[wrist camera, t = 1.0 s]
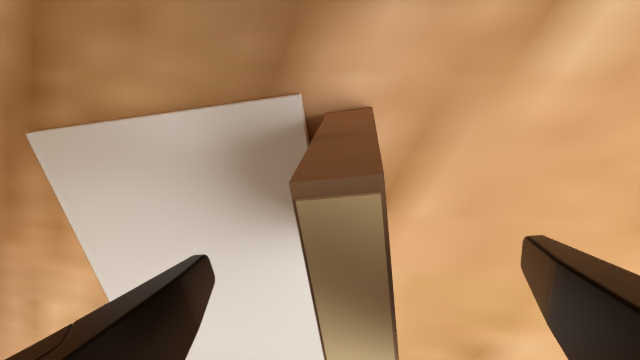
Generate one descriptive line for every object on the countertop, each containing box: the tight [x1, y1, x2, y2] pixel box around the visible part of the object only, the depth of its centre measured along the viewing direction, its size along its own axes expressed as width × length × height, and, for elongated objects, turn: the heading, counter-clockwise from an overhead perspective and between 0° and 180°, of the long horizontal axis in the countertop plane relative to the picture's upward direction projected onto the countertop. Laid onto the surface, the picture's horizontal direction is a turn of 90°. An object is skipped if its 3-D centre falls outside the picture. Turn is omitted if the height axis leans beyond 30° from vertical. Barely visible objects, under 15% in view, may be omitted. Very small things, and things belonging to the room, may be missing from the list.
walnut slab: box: [289, 107, 399, 360], centre depth 11 cm, size 6×2×8 cm, turn 9°
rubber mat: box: [25, 93, 324, 360], centre depth 18 cm, size 18×14×1 cm
